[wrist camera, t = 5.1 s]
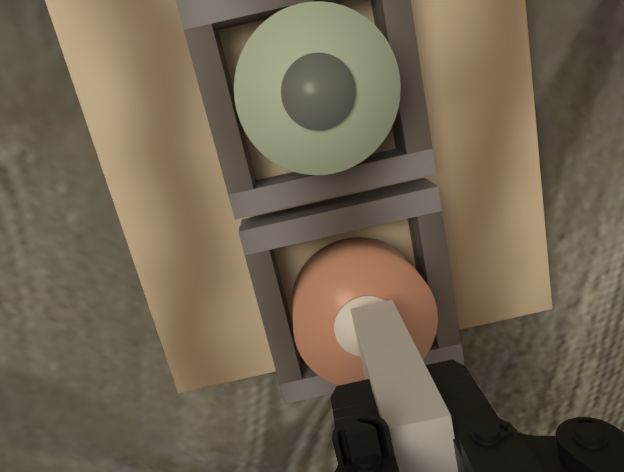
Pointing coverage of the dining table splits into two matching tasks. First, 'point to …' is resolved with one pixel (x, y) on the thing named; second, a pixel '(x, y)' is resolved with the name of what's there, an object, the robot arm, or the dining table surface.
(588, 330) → the dining table surface
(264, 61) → the sage button
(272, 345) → the panel
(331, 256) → the terracotta button
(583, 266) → the dining table surface
